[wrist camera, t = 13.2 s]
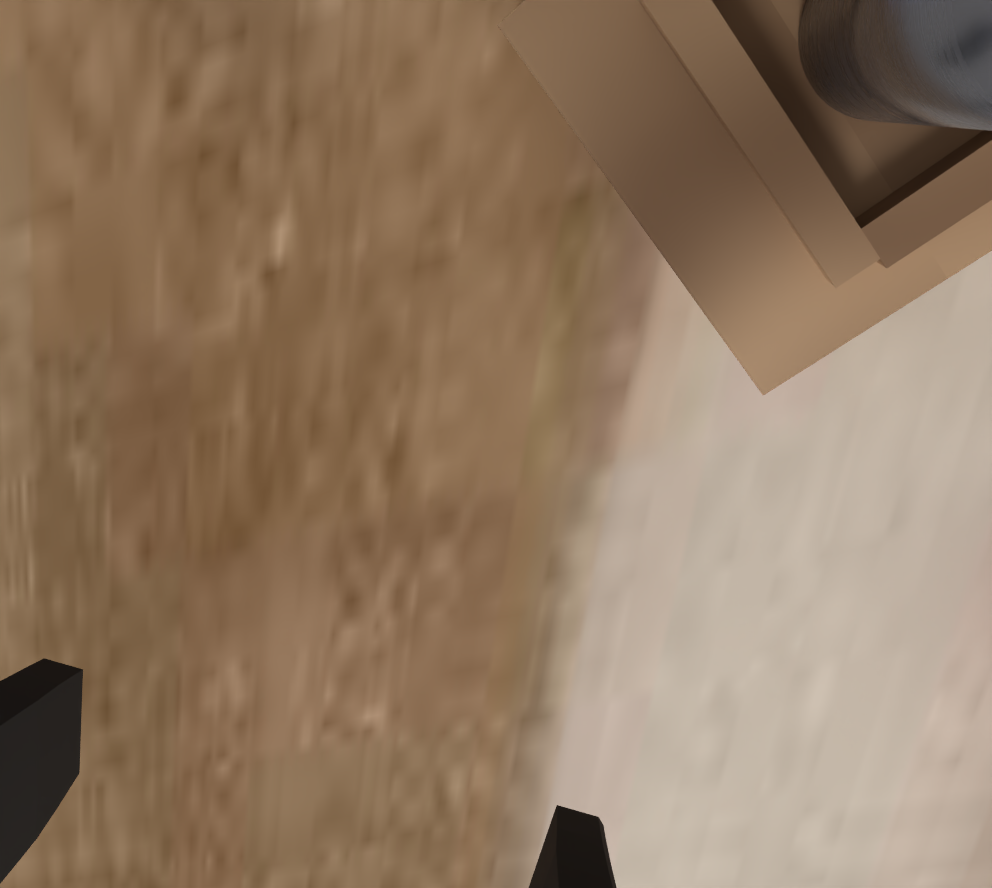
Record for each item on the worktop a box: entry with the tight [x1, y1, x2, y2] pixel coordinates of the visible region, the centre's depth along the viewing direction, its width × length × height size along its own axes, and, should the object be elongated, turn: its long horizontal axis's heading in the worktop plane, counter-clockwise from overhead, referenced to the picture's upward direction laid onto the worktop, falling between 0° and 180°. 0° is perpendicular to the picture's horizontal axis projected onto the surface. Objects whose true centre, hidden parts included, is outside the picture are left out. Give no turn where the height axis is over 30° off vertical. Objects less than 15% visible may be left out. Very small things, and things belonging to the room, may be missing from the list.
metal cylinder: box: [798, 0, 992, 131], centre depth 10 cm, size 3×3×7 cm
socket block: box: [497, 0, 992, 395], centre depth 15 cm, size 8×10×5 cm
